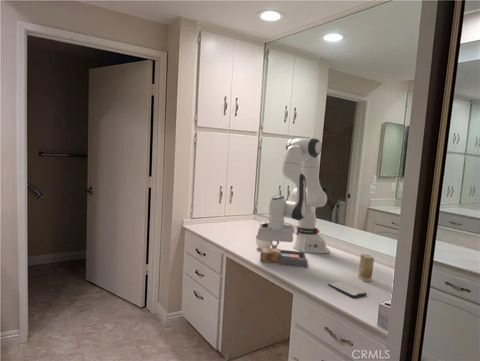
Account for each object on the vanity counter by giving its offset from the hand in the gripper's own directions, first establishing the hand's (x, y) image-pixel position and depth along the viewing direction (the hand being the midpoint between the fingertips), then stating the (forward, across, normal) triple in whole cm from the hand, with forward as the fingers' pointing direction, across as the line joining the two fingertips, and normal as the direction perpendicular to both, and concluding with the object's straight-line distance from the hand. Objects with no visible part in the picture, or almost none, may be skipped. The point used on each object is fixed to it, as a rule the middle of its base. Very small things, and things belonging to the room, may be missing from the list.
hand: (274, 248), depth 193 cm
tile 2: (+6, -6, 0) cm, 9 cm away
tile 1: (+3, -12, 0) cm, 12 cm away
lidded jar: (+7, +6, -19) cm, 21 cm away
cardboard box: (+6, +2, 0) cm, 6 cm away
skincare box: (+7, -46, +19) cm, 50 cm away
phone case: (+7, -33, +36) cm, 49 cm away
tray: (+6, -11, 0) cm, 12 cm away
